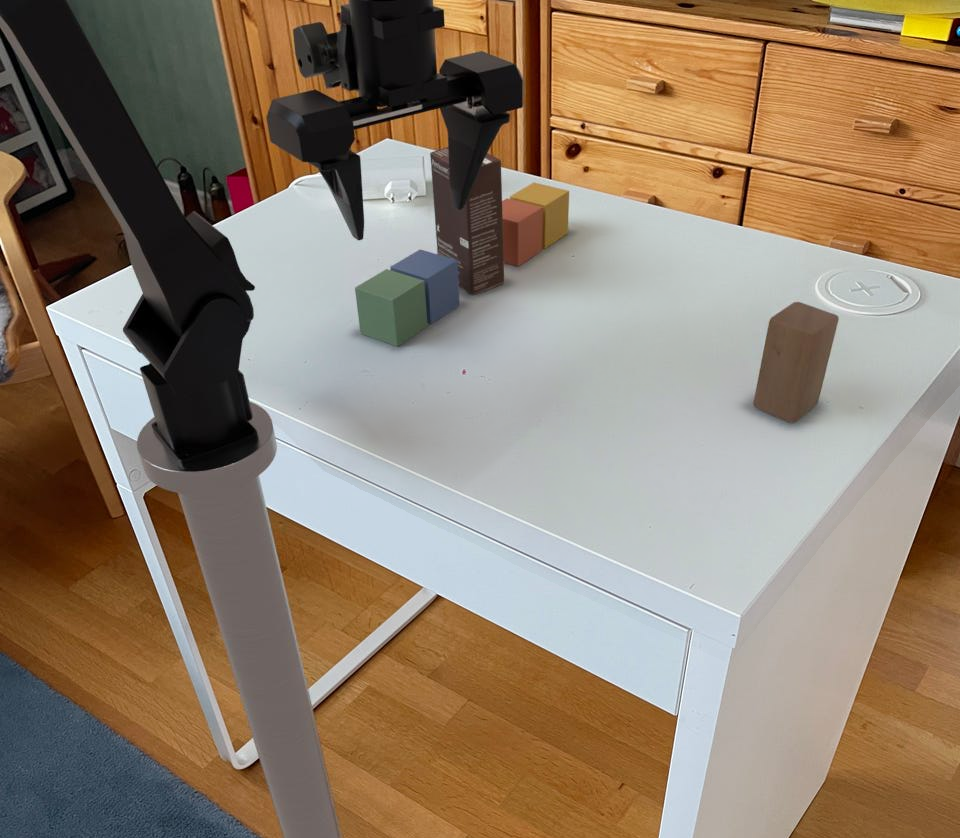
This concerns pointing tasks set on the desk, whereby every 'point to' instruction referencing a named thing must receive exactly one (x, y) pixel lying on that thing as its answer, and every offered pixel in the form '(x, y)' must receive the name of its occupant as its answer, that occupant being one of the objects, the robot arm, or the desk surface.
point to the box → (471, 224)
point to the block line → (455, 268)
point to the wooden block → (794, 361)
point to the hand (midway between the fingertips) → (408, 223)
